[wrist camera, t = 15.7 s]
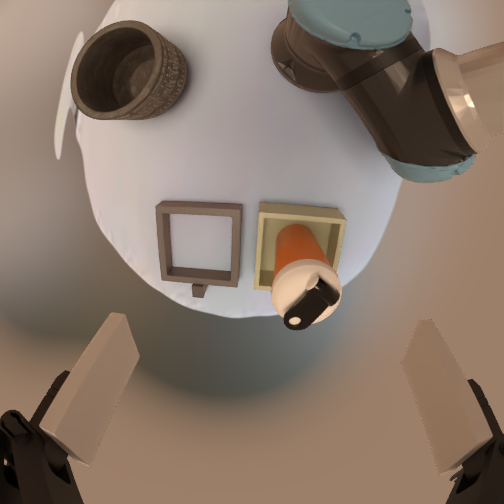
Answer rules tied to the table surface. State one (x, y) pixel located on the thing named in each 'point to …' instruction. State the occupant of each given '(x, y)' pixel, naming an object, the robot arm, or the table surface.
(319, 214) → the sage holder
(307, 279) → the shaker bottle
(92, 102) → the planter
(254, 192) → the table surface
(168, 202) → the collar
